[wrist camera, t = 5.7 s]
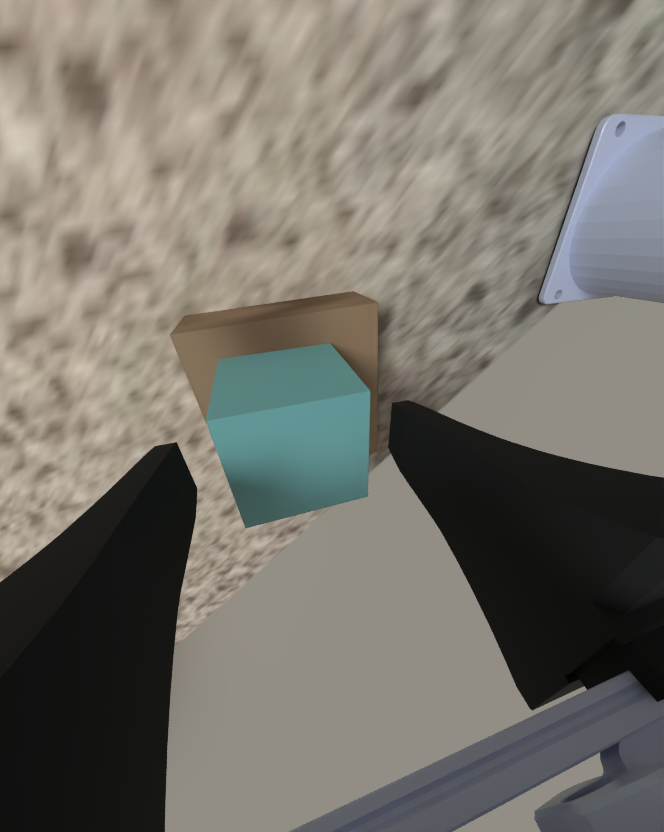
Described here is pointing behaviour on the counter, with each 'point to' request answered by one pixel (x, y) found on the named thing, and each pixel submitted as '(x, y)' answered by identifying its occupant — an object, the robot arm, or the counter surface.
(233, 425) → the teal cube
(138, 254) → the counter surface
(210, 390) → the walnut block
